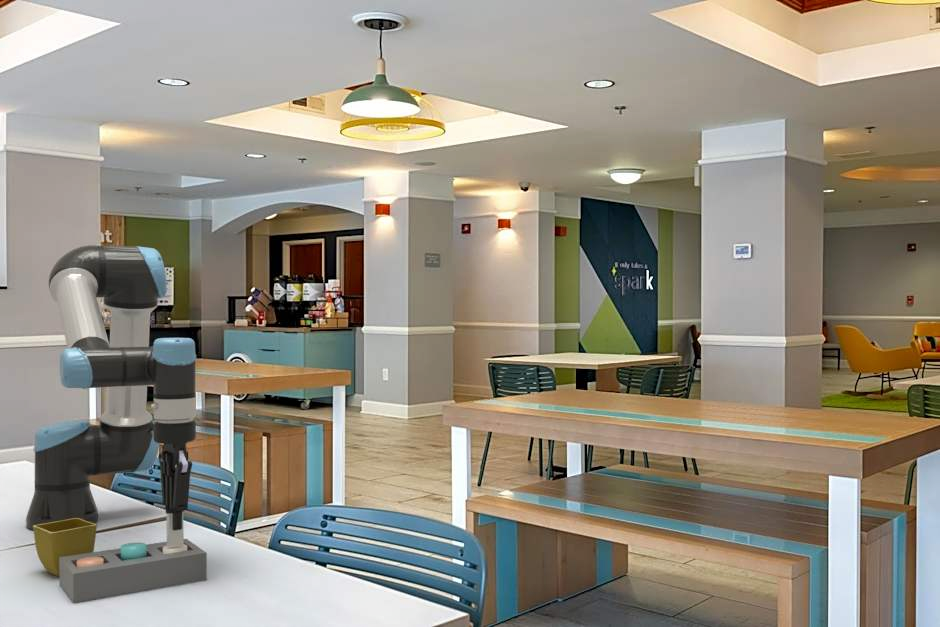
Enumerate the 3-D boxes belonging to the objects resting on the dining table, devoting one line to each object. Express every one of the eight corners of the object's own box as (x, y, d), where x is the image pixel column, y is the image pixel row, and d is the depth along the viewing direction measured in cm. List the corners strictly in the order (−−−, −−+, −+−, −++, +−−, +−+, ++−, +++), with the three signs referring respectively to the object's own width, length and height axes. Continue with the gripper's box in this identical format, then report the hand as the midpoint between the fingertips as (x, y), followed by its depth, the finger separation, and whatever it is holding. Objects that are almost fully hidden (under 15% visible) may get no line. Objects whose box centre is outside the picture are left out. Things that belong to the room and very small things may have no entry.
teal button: (118, 562, 167) (118, 544, 167) (142, 558, 169) (142, 541, 169) (124, 568, 163) (124, 550, 163) (149, 564, 166) (149, 546, 166)
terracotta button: (74, 577, 163) (74, 559, 162) (100, 572, 165) (100, 555, 165) (79, 583, 159) (79, 565, 159) (106, 579, 161) (106, 561, 161)
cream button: (159, 563, 171) (159, 546, 171) (183, 559, 174) (183, 542, 174) (166, 568, 167) (166, 551, 167) (190, 564, 170) (190, 547, 170)
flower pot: (32, 572, 173) (31, 524, 172) (77, 562, 179) (77, 516, 179) (51, 581, 167) (51, 532, 166) (98, 571, 173) (98, 524, 173)
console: (59, 584, 165) (59, 557, 165) (186, 564, 178) (186, 538, 178) (73, 603, 155) (73, 573, 155) (206, 579, 168) (206, 552, 168)
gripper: (144, 418, 173) (145, 541, 174) (164, 425, 163) (165, 557, 163) (183, 415, 178) (184, 535, 178) (205, 422, 167) (206, 550, 167)
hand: (175, 545), depth 170 cm, fingers closed
